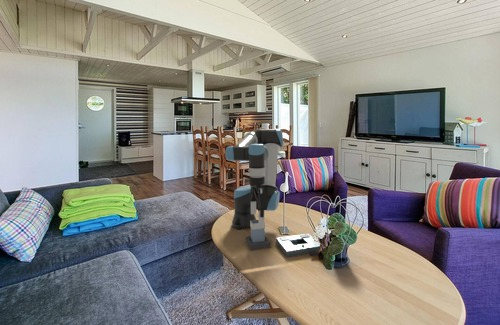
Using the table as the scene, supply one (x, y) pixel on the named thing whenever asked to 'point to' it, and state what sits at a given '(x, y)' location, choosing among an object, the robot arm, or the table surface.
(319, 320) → the table surface
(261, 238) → the plug
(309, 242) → the port panel
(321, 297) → the table surface
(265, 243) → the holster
